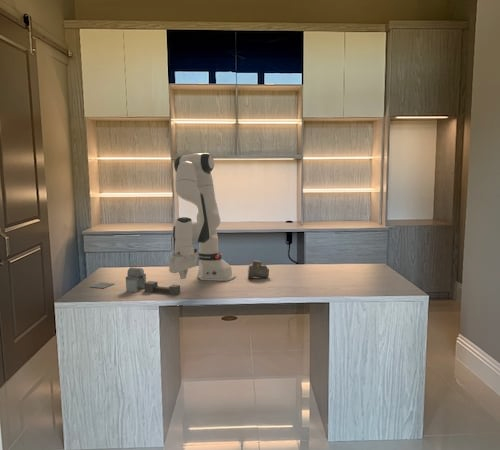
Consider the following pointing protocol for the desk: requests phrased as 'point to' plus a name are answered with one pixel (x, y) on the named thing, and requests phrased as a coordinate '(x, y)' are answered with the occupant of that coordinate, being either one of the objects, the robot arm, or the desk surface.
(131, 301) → the desk surface
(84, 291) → the desk surface
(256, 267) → the pipe fitting
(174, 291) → the grey long block-ended bar
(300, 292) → the desk surface
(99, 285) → the pad
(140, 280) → the housing
